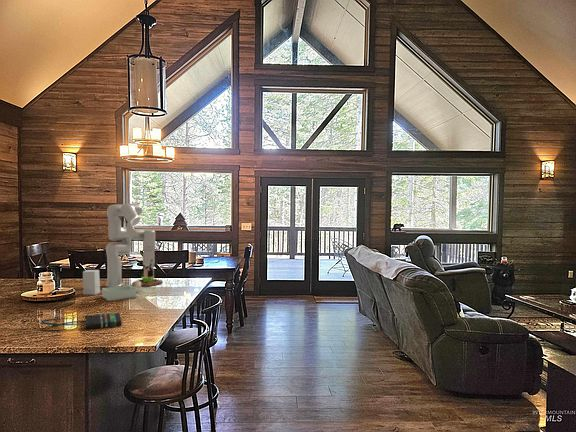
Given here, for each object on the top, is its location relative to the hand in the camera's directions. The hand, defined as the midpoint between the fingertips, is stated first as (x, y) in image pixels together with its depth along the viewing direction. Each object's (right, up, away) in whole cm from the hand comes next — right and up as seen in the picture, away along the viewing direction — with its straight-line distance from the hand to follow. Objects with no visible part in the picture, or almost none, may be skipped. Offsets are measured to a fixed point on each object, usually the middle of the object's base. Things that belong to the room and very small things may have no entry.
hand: (148, 275), depth 270 cm
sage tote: (-16, -13, -8) cm, 22 cm away
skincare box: (-38, -12, 0) cm, 40 cm away
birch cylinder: (-10, -12, +7) cm, 17 cm away
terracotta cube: (0, -1, 0) cm, 1 cm away
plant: (-13, -12, +34) cm, 38 cm away
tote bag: (-9, -15, -69) cm, 72 cm away
